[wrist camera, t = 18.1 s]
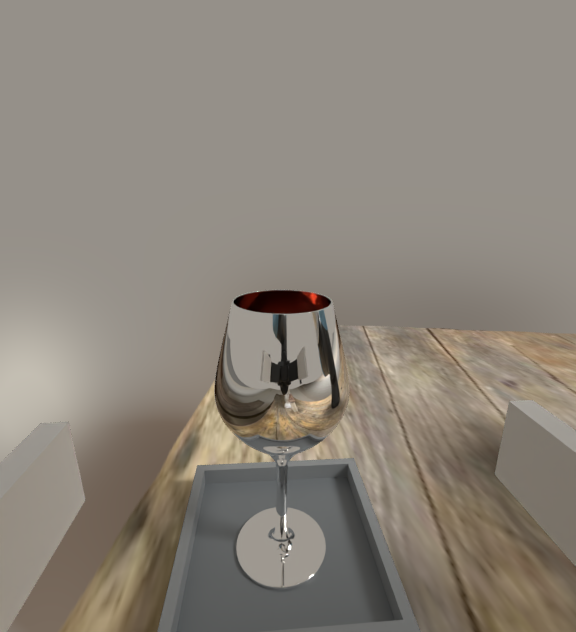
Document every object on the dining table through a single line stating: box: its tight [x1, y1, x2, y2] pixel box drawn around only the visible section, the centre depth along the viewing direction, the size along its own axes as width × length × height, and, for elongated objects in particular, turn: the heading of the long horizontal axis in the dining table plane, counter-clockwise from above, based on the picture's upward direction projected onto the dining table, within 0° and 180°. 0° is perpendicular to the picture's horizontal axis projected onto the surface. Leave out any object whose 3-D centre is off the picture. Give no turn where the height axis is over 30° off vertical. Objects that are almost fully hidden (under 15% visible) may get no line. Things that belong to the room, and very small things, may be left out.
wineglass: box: [215, 290, 349, 590], centre depth 23 cm, size 8×8×18 cm
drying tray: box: [157, 458, 420, 632], centre depth 25 cm, size 14×14×2 cm
